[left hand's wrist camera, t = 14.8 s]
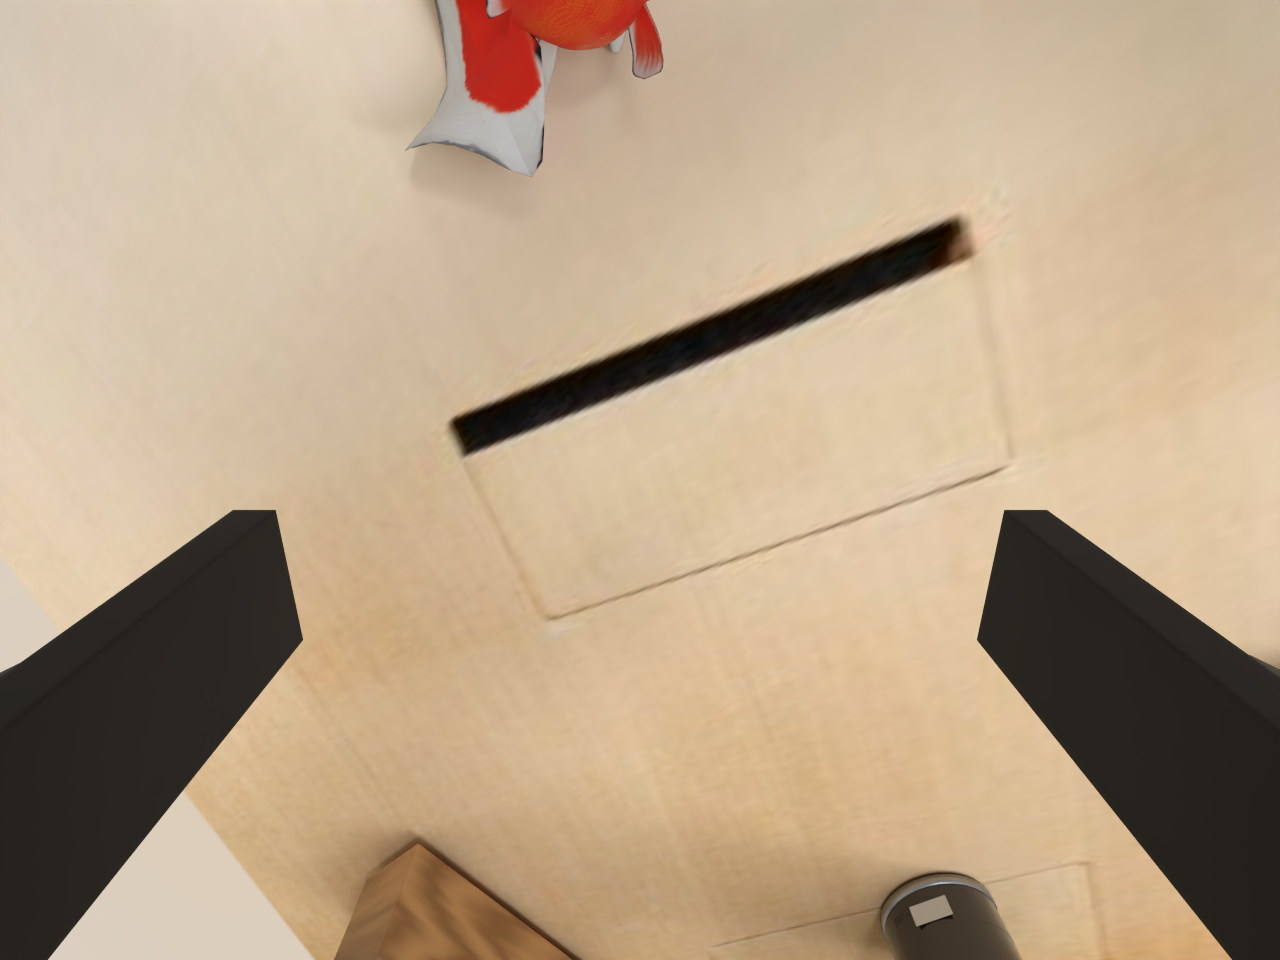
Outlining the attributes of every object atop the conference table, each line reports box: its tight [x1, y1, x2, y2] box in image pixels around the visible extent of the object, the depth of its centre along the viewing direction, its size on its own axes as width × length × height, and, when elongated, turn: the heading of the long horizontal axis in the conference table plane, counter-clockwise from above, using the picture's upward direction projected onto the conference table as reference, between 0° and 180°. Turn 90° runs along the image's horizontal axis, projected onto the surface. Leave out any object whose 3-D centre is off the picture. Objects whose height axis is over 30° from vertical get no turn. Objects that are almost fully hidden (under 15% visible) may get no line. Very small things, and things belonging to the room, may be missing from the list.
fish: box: [405, 0, 663, 177], centre depth 31 cm, size 11×16×10 cm
